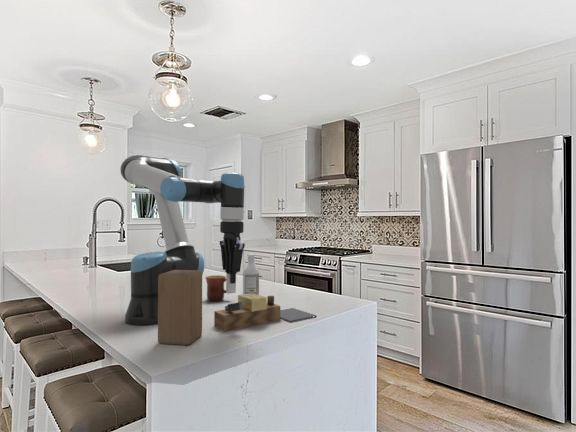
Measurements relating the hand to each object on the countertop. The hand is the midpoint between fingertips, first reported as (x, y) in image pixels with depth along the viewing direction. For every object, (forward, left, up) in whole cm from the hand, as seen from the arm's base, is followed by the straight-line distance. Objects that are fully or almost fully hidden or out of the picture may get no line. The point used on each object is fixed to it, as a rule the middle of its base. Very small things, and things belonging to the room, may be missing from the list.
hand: (230, 292), depth 121 cm
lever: (0, +1, -5) cm, 5 cm away
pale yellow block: (+9, +1, -7) cm, 11 cm away
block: (-17, -2, -12) cm, 21 cm away
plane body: (+8, +1, -12) cm, 14 cm away
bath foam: (+28, +32, -12) cm, 44 cm away
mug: (+16, +39, -12) cm, 44 cm away
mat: (+26, 0, -12) cm, 28 cm away
